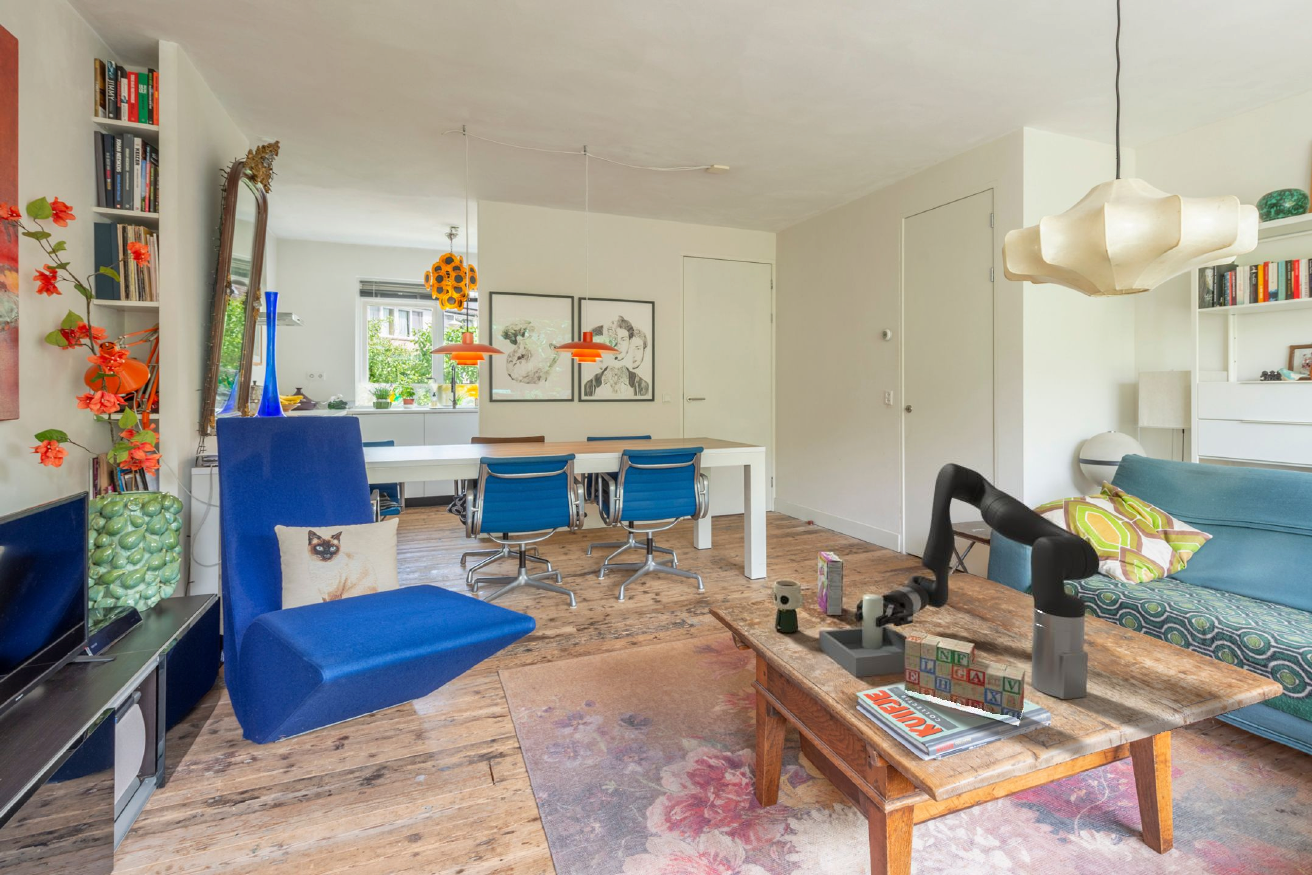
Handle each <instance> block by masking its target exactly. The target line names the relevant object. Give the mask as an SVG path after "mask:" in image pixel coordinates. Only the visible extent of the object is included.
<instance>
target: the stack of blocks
mask: <svg viewBox="0 0 1312 875" xmlns="http://www.w3.org/2000/svg"><path fill="white" fill-rule="evenodd" d="M975 646H976V645H975V643H971V642H967V641H963V640H962V641H961V640H958V639H953V638H947V637H942V636H937V635H933V634H928V633H923V632H919V631H912V633H910V634H909V635H908V636H907V639H906V640H905V672H904V691H905V690H907V691H912V692H917V693H919V694H925V695H931V696H933V697H937V698H940V699H942V700H947V701H951V702H954V703H959V704H961V705H965V706H971V707H974V708H978V709H982V710H983V711H986V712H990V713H992V714H1000V715H1009V716H1012V717H1016V718H1017V719H1019V720H1020V717H1021V713H1022V710H1023V708H1024V706H1025V705H1024V704H1025V703H1024V702H1025V701H1024V700H1025V679H1026V678H1025V675H1026V670H1025V669H1023V668H1019V667H1014V666H1010V665H1007V664H1002V663H997V662H992V661H989V660H984V659H979V658H975ZM1024 709H1025V708H1024Z"/></svg>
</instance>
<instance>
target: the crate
mask: <svg viewBox="0 0 1312 875" xmlns="http://www.w3.org/2000/svg"><path fill="white" fill-rule="evenodd" d="M818 636H819V637H818V649H819V650H820V651H822V652H823V653H824V654H825V655H826V656H828V657H829V658H830V659H832V660H833V661H834V662H835V663H837V664H838V665H839V666H841V667H842V668H843V669H845V670H846V671H847V672H848V673H849V674H851V675H852V676H853V677H855V678H865V677H873V676H882V675H883V676H884V675H893V674H894V675H895V674H900V673H901V674H902V673H905V640H906V639H907V638H908V636H905V635H904V634H902V633H900V632H899V631H897V630H895V629H893V628H892V627H890V626H889V625H885V626H883V629H882V648H881V649H878V650H872V649H867V648H865V647H863V646H862V626H861V627H852V628H849V627H848V628H838V629H829V630H828V629H825V630H819V634H818Z"/></svg>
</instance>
